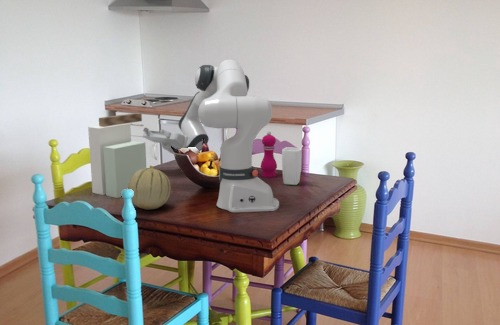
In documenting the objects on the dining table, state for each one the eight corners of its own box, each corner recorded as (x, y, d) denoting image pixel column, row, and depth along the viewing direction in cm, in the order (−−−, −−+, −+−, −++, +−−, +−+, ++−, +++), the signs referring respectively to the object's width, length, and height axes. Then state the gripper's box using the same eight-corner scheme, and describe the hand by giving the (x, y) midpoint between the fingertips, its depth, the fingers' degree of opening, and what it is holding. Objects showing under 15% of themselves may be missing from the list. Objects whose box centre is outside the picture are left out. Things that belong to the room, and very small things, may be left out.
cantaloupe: (128, 216, 179) (126, 172, 176) (129, 204, 193) (127, 163, 190) (172, 213, 182) (171, 170, 179) (170, 201, 196) (168, 161, 193)
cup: (280, 185, 219) (281, 150, 216) (285, 181, 226) (285, 147, 222) (298, 186, 217) (298, 151, 213) (302, 182, 223) (302, 147, 220)
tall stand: (123, 184, 221) (119, 122, 216) (133, 186, 218) (130, 123, 213) (92, 192, 208) (88, 127, 203) (102, 194, 205) (98, 128, 200)
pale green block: (136, 187, 217) (134, 141, 213) (147, 189, 214) (145, 142, 210) (106, 195, 204) (103, 147, 200) (117, 198, 201) (114, 148, 197)
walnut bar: (137, 120, 222) (136, 112, 221) (141, 121, 220) (141, 113, 219) (99, 126, 205) (98, 117, 205) (104, 126, 204) (103, 118, 203)
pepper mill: (275, 174, 239) (276, 130, 235) (277, 177, 232) (278, 132, 228) (259, 174, 239) (259, 130, 235) (261, 178, 232) (261, 132, 228)
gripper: (157, 133, 245) (137, 121, 234) (191, 137, 234) (172, 124, 223) (152, 146, 244) (132, 134, 233) (186, 150, 233) (167, 138, 221)
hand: (152, 130), depth 228 cm, fingers open, 8 cm apart
